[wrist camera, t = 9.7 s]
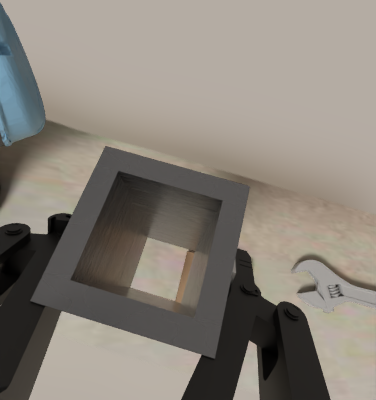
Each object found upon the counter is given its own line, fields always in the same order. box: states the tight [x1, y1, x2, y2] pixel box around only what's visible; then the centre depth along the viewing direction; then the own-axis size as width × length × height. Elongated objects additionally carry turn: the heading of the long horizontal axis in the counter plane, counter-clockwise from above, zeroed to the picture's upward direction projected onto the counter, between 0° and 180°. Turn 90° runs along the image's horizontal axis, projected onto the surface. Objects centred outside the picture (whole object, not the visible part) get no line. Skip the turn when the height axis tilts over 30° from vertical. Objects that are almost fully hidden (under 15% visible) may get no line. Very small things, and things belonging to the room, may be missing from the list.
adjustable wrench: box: [291, 260, 376, 313], centre depth 34 cm, size 25×6×2 cm, turn 71°
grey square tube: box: [30, 146, 250, 359], centre depth 14 cm, size 6×6×12 cm
